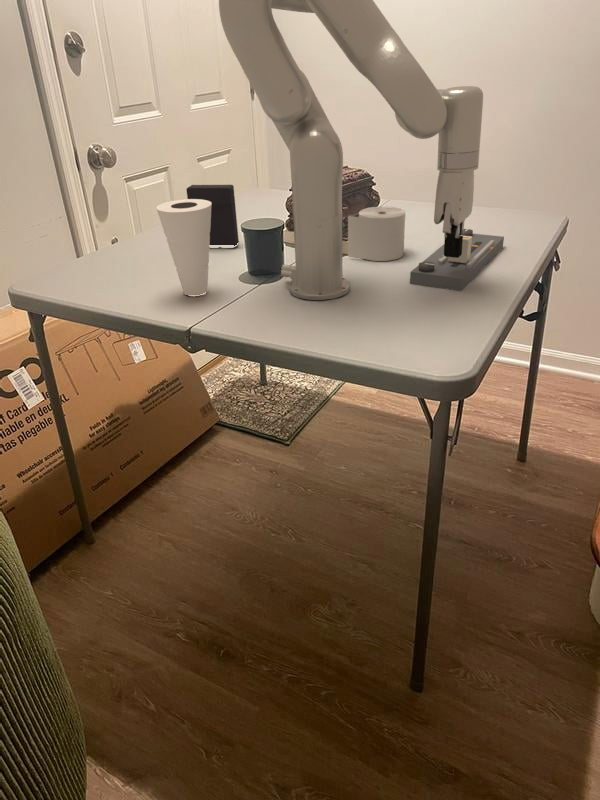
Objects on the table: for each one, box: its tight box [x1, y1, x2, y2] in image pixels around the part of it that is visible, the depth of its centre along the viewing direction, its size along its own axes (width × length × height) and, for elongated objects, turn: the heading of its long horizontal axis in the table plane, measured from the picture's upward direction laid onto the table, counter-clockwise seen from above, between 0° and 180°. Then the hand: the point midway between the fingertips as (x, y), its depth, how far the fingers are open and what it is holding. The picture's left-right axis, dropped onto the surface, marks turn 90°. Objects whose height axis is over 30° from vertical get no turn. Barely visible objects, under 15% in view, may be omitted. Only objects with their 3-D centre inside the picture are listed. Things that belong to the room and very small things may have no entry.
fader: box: [448, 235, 472, 263], centre depth 131 cm, size 4×2×5 cm, turn 60°
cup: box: [156, 198, 212, 295], centre depth 125 cm, size 11×11×18 cm
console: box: [409, 228, 505, 292], centre depth 138 cm, size 11×32×4 cm, turn 150°
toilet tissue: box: [347, 206, 406, 262], centre depth 144 cm, size 11×12×10 cm
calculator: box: [186, 184, 240, 246], centre depth 155 cm, size 11×4×15 cm, turn 80°
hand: (452, 255), depth 126 cm, fingers closed
